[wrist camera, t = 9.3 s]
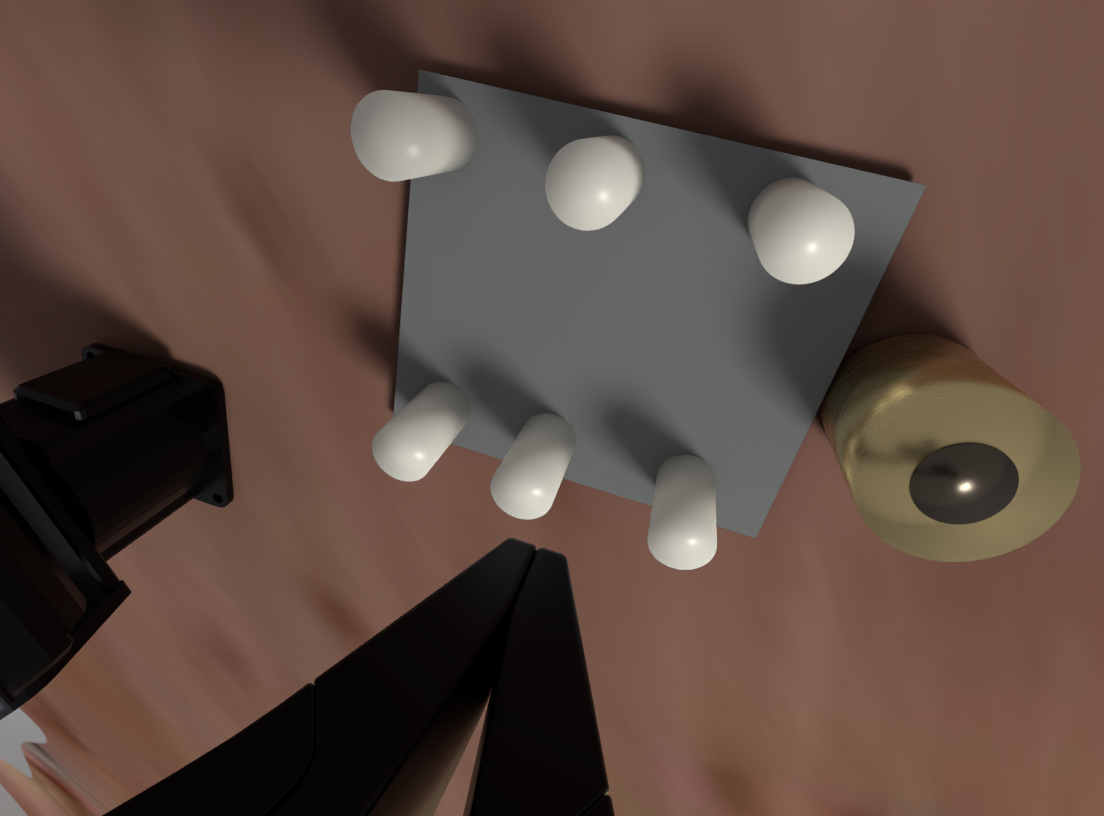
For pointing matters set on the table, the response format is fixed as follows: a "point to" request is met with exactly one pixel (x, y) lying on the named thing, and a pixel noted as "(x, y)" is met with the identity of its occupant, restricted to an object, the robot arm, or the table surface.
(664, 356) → the mat
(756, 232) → the spacers
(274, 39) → the table surface
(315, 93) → the table surface
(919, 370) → the knob
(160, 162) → the table surface
